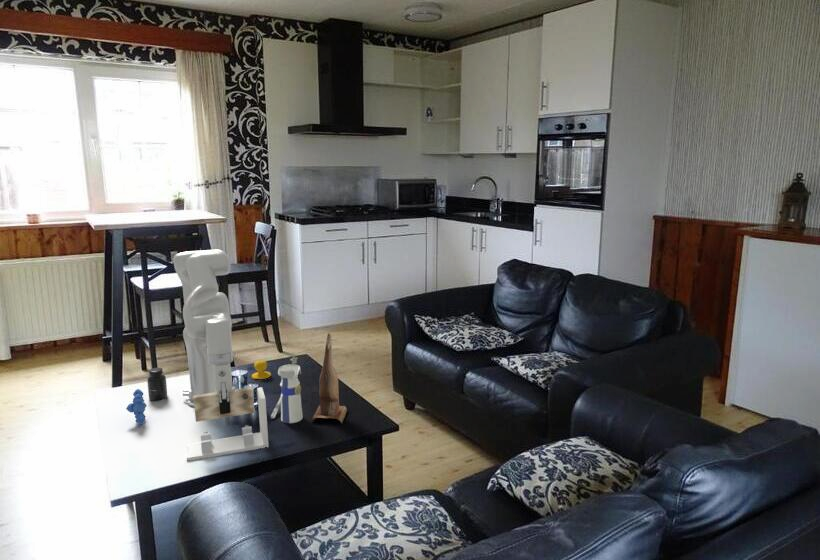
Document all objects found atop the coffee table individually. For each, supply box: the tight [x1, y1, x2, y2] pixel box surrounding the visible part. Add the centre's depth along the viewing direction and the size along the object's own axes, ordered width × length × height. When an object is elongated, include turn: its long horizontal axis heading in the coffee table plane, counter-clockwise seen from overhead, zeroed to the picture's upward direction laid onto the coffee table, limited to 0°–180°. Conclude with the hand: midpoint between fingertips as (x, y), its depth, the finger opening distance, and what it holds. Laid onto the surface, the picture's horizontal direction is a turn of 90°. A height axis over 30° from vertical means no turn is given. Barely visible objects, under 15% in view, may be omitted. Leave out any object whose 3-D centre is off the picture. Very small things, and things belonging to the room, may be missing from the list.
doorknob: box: [251, 359, 272, 380], centre depth 254 cm, size 8×8×8 cm
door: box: [194, 386, 255, 422], centre depth 188 cm, size 18×3×8 cm, turn 110°
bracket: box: [270, 396, 281, 420], centre depth 223 cm, size 3×21×10 cm, turn 173°
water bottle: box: [277, 355, 303, 424], centre depth 210 cm, size 8×9×25 cm
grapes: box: [125, 388, 147, 425], centre depth 210 cm, size 12×7×12 cm, turn 24°
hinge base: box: [186, 386, 270, 461], centre depth 190 cm, size 25×10×17 cm, turn 110°
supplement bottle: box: [146, 367, 168, 402], centre depth 232 cm, size 7×7×12 cm
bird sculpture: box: [311, 332, 348, 424], centre depth 210 cm, size 11×12×32 cm
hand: (225, 411), depth 189 cm, fingers closed on door, 2 cm apart
